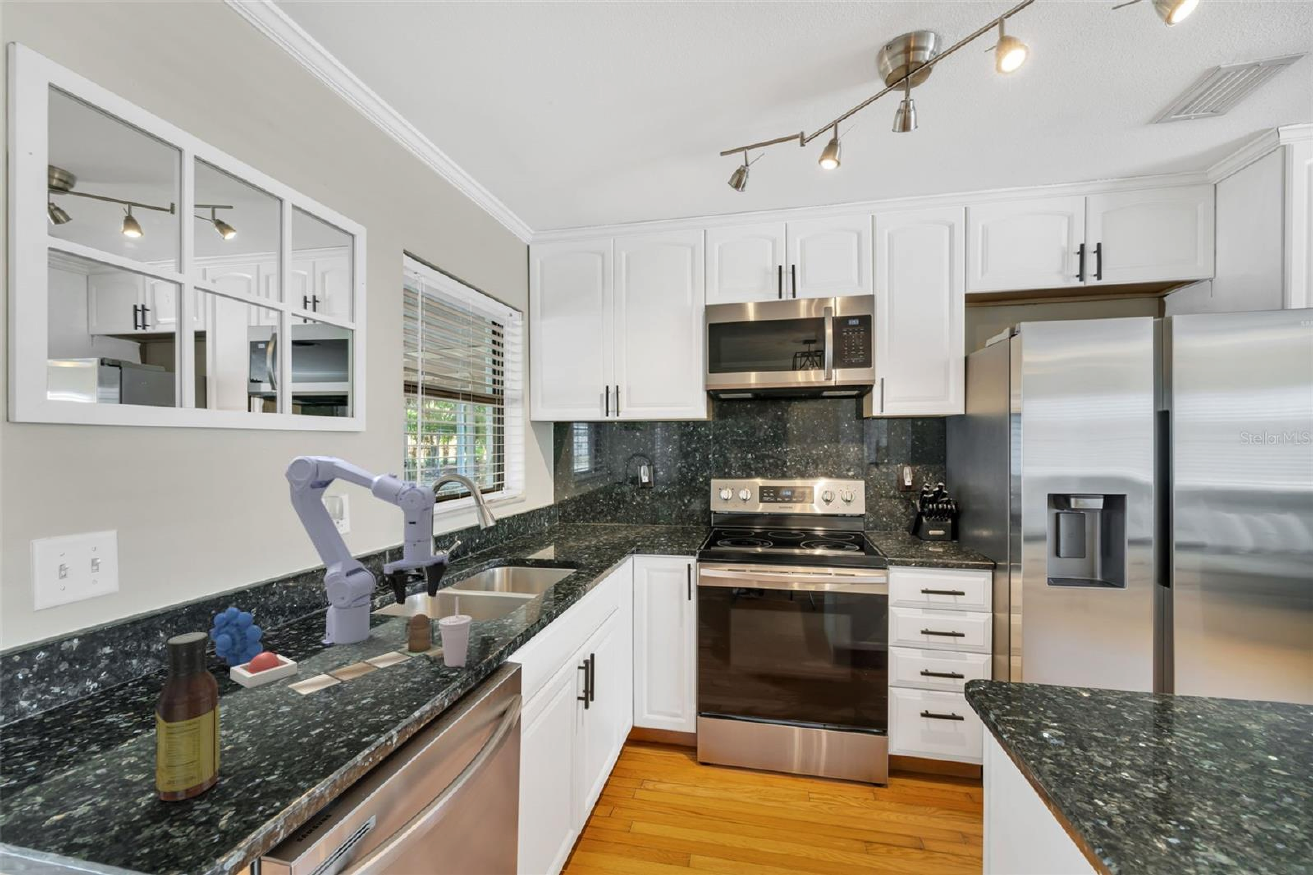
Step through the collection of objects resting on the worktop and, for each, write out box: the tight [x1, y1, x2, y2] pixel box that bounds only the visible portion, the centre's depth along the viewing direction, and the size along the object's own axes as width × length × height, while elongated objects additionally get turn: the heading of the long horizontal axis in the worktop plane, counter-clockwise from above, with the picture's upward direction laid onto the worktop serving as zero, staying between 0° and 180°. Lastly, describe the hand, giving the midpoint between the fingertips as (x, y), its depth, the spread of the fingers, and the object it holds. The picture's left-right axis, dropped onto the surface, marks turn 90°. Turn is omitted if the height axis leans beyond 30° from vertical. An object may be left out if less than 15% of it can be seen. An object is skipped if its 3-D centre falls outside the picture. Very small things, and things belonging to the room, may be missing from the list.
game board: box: [286, 642, 444, 696], centre depth 109 cm, size 12×28×1 cm, turn 147°
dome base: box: [229, 653, 298, 690], centre depth 104 cm, size 8×8×3 cm
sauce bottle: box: [155, 631, 220, 802], centre depth 71 cm, size 7×6×20 cm
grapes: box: [210, 606, 264, 668], centre depth 109 cm, size 12×7×12 cm, turn 79°
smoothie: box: [438, 596, 473, 668], centre depth 110 cm, size 6×6×14 cm
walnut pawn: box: [407, 613, 432, 653], centre depth 117 cm, size 4×4×7 cm
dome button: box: [248, 651, 280, 674], centre depth 104 cm, size 5×5×5 cm
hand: (416, 599), depth 124 cm, fingers open, 7 cm apart
